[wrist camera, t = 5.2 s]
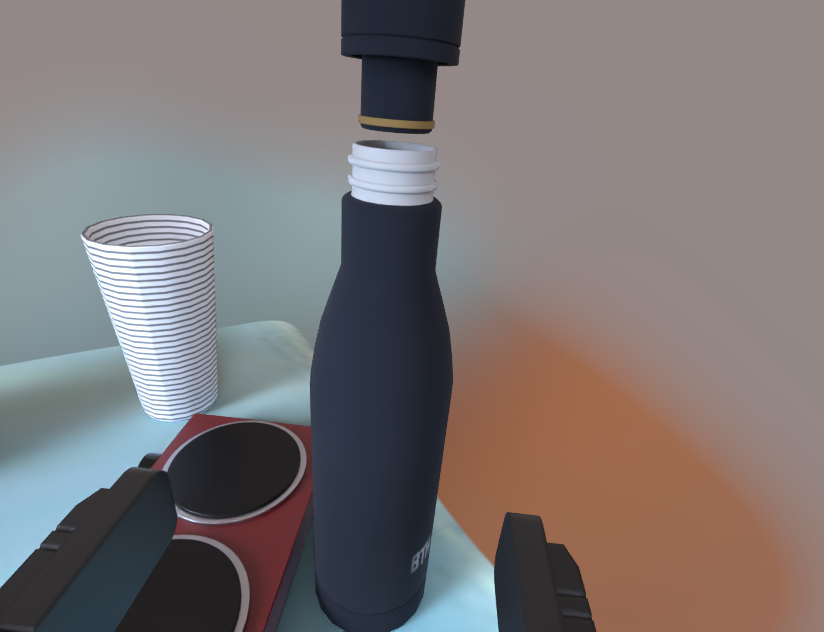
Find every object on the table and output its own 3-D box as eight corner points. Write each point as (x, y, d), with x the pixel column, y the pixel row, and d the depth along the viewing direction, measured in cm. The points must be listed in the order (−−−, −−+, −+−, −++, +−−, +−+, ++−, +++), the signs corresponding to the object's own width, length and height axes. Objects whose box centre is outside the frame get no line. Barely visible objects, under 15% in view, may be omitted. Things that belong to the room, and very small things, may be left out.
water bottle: (325, 529, 29) (318, -45, 16) (423, 534, 30) (495, -28, 16) (304, 635, 24) (268, -120, 10) (426, 640, 24) (541, -92, 11)
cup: (240, 372, 44) (223, 215, 38) (224, 430, 37) (199, 248, 30) (146, 375, 43) (110, 212, 36) (108, 436, 35) (54, 245, 29)
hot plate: (-72, 765, 18) (-102, 732, 17) (186, 434, 36) (181, 406, 35) (218, 807, 18) (210, 775, 17) (334, 451, 36) (334, 423, 35)
